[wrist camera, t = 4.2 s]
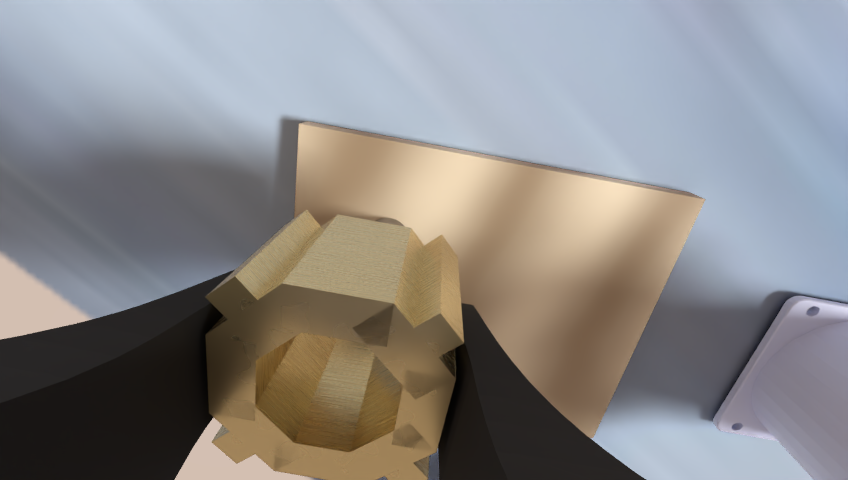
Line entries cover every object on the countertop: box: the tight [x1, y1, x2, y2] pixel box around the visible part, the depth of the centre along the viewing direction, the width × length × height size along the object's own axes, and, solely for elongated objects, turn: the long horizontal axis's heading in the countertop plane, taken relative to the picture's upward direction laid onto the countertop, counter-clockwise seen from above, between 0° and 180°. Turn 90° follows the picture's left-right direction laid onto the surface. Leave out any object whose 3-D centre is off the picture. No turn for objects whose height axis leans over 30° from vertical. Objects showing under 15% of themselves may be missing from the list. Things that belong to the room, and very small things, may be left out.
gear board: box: [294, 121, 705, 438], centre depth 17 cm, size 16×13×4 cm
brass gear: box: [206, 210, 464, 480], centre depth 10 cm, size 5×5×4 cm
